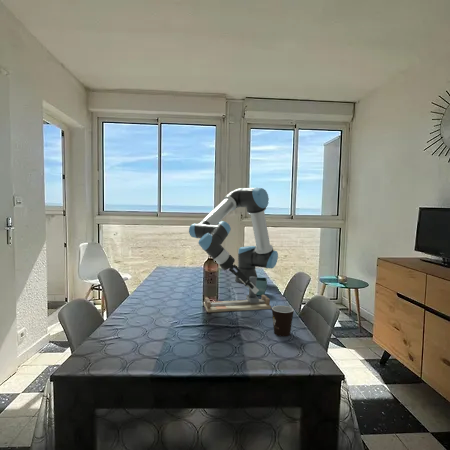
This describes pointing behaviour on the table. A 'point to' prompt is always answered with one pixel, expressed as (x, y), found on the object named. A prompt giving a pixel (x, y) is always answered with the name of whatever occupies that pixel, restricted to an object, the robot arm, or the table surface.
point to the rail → (237, 305)
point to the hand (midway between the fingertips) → (252, 288)
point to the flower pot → (261, 285)
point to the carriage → (252, 297)
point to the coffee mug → (282, 320)
